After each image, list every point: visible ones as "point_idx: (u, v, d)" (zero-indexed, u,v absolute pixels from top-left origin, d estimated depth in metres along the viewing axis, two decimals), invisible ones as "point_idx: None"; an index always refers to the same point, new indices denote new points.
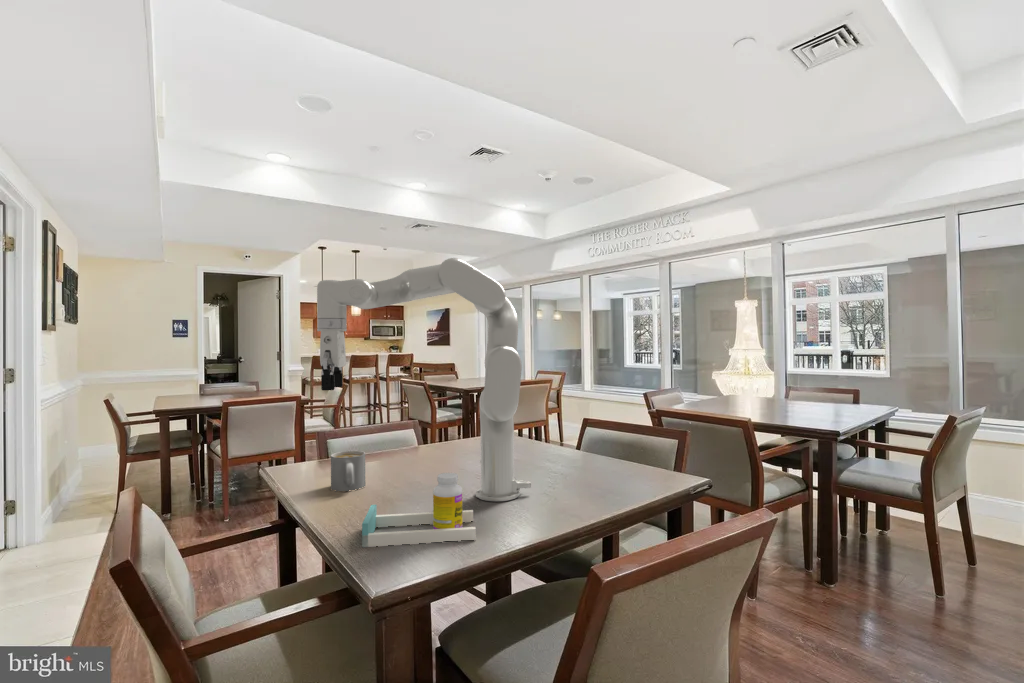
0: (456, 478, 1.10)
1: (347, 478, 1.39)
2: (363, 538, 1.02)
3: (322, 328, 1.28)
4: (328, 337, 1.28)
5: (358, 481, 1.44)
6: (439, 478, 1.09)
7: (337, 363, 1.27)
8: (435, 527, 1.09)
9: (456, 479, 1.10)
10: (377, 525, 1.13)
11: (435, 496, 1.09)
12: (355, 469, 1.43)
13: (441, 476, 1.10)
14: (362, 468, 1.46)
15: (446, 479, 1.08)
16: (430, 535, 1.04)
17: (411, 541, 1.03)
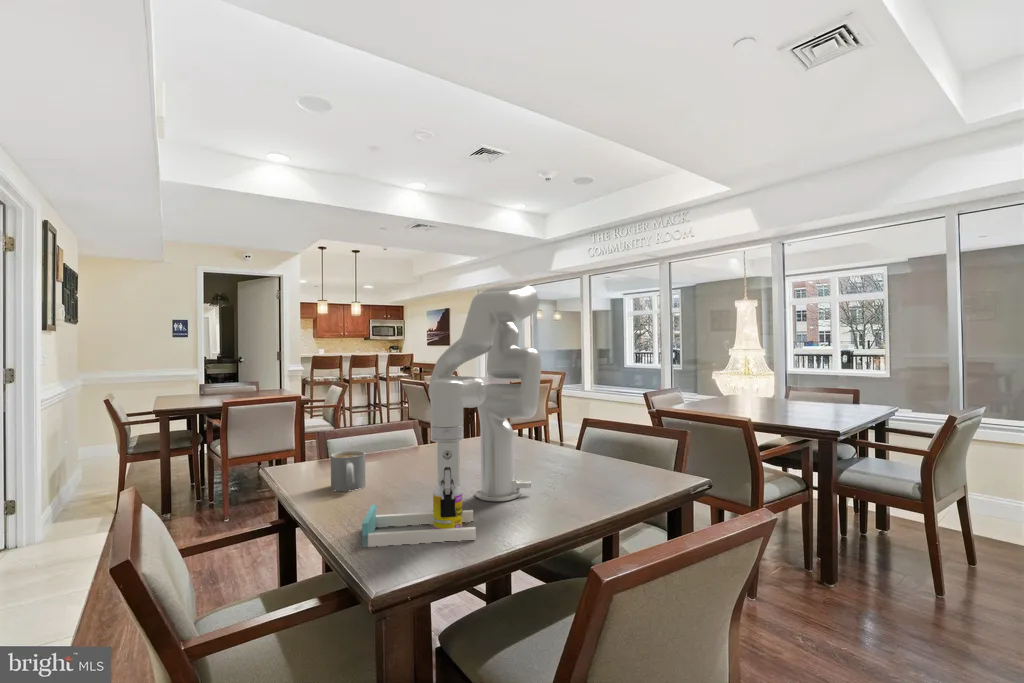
0: None
1: (347, 478, 1.39)
2: (363, 538, 1.02)
3: (439, 439, 1.07)
4: (447, 450, 1.07)
5: (358, 481, 1.44)
6: None
7: (458, 482, 1.06)
8: (435, 527, 1.09)
9: None
10: (377, 525, 1.13)
11: (435, 496, 1.09)
12: (355, 469, 1.43)
13: None
14: (362, 468, 1.46)
15: None
16: (430, 535, 1.04)
17: (411, 541, 1.03)
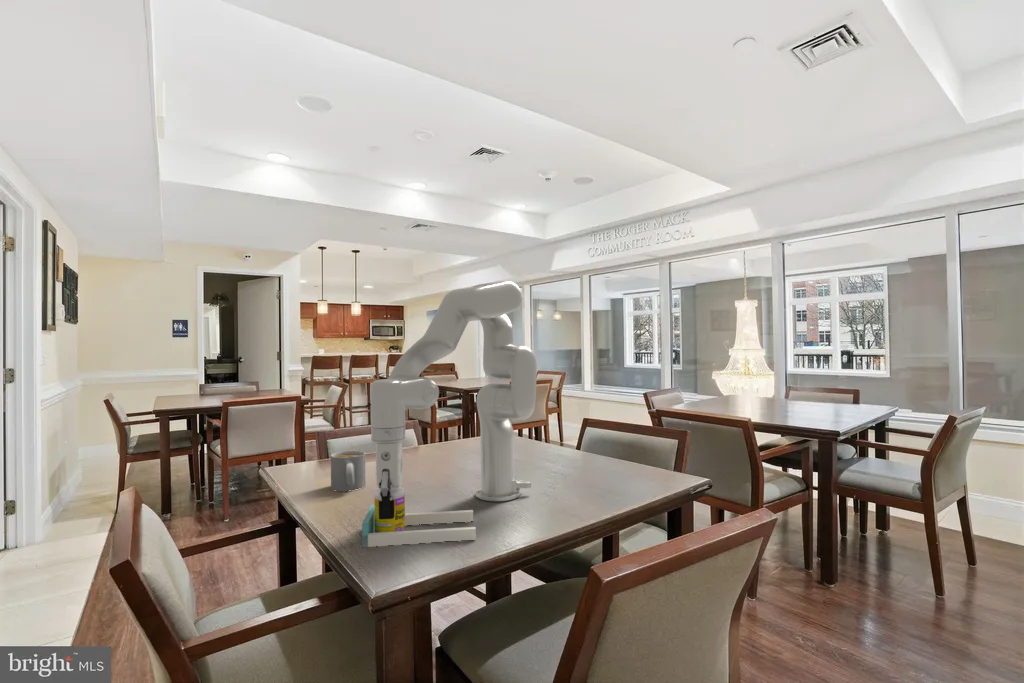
0: None
1: (347, 478, 1.39)
2: (363, 538, 1.02)
3: (378, 440, 1.06)
4: (386, 452, 1.05)
5: (358, 481, 1.44)
6: None
7: (397, 484, 1.05)
8: (376, 530, 1.07)
9: None
10: None
11: (376, 499, 1.07)
12: (355, 469, 1.43)
13: None
14: (362, 468, 1.46)
15: None
16: (430, 535, 1.04)
17: (411, 541, 1.03)
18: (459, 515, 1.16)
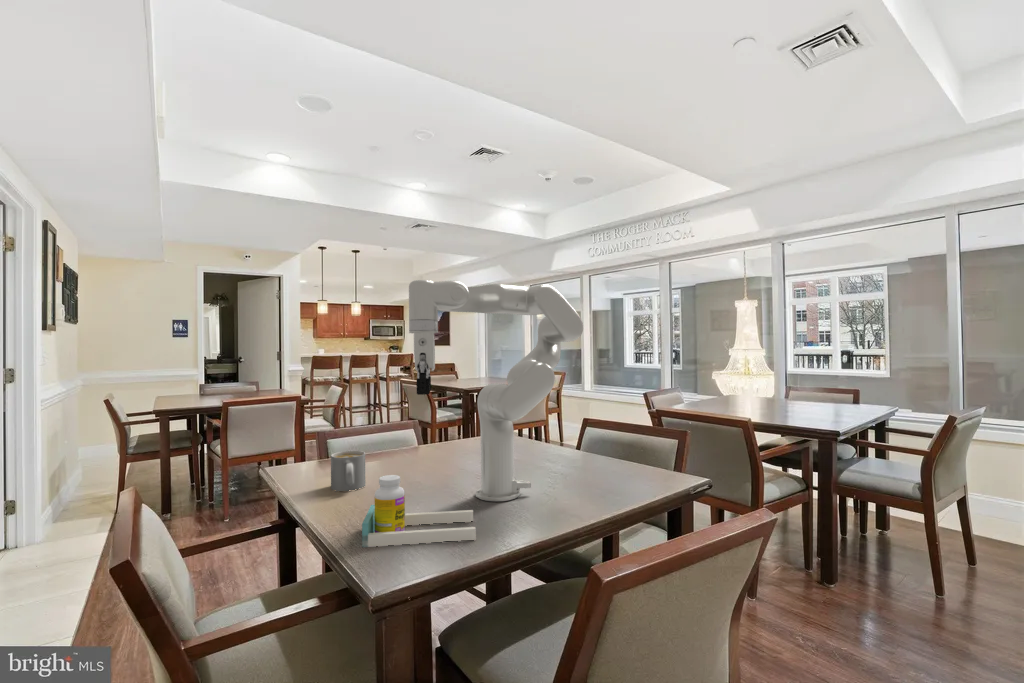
0: (398, 480, 1.08)
1: (347, 478, 1.39)
2: (363, 538, 1.02)
3: (416, 330, 1.24)
4: (422, 339, 1.23)
5: (358, 481, 1.44)
6: (380, 480, 1.08)
7: (432, 366, 1.23)
8: (376, 530, 1.07)
9: (398, 481, 1.08)
10: None
11: (376, 499, 1.07)
12: (355, 469, 1.43)
13: (382, 478, 1.08)
14: (362, 468, 1.46)
15: (387, 481, 1.07)
16: (430, 535, 1.04)
17: (411, 541, 1.03)
18: (459, 515, 1.16)
